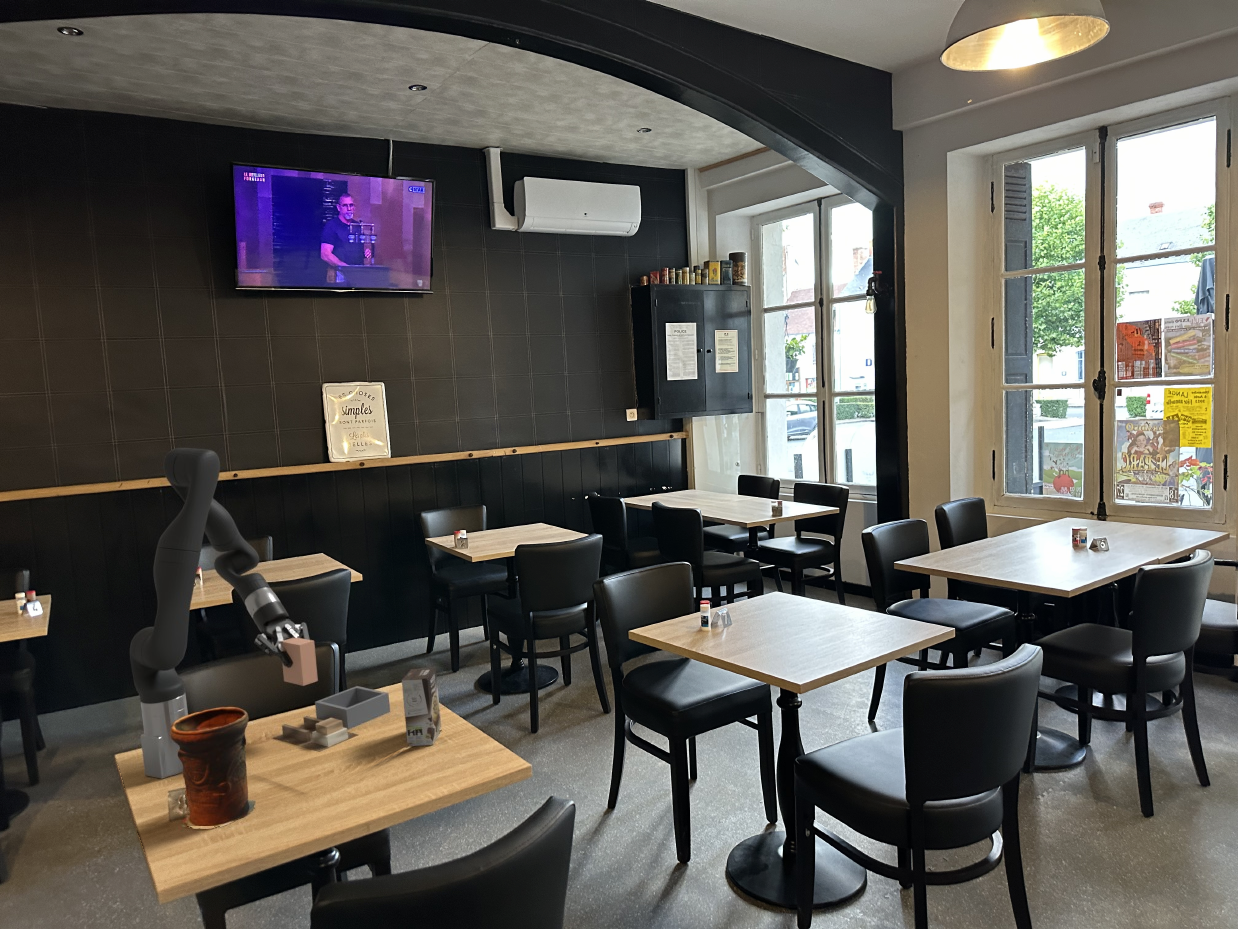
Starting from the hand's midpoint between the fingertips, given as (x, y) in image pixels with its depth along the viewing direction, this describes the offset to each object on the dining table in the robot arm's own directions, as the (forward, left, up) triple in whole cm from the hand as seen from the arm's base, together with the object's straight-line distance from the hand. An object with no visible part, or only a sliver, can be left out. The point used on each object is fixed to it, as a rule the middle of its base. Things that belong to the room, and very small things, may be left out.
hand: (299, 662), depth 213 cm
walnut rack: (-1, -4, -19) cm, 19 cm away
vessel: (-36, -13, -19) cm, 43 cm away
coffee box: (+8, -30, -19) cm, 37 cm away
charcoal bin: (+13, -3, -19) cm, 23 cm away
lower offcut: (-2, -10, -18) cm, 20 cm away
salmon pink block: (0, 0, -5) cm, 5 cm away
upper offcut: (-2, -10, -15) cm, 18 cm away
